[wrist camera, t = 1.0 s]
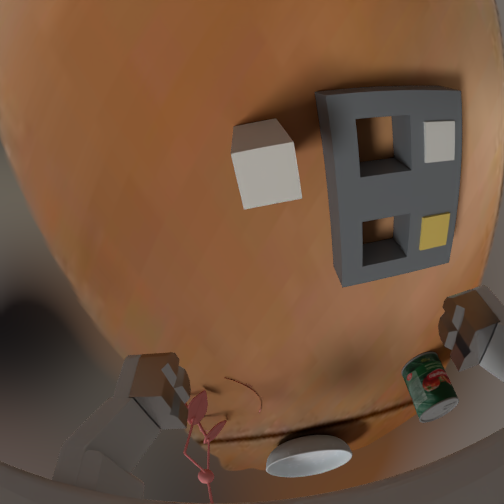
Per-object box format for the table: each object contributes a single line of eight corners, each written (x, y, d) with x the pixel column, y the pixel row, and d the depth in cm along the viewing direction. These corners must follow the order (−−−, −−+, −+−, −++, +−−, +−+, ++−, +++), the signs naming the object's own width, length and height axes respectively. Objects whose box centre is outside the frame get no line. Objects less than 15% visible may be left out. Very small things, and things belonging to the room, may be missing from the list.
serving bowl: (353, 441, 70) (358, 463, 64) (281, 460, 74) (283, 481, 68) (338, 416, 59) (344, 443, 53) (250, 438, 63) (251, 464, 57)
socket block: (314, 91, 26) (326, 95, 22) (438, 85, 25) (462, 91, 21) (333, 266, 37) (343, 289, 33) (433, 244, 35) (449, 263, 32)
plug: (233, 126, 27) (230, 153, 19) (275, 118, 27) (293, 141, 19) (242, 165, 30) (244, 209, 21) (283, 157, 29) (302, 198, 21)
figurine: (203, 433, 61) (204, 576, 31) (159, 370, 47) (140, 581, 17) (271, 427, 60) (288, 574, 31) (252, 360, 46) (273, 589, 17)
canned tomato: (400, 381, 53) (416, 427, 44) (402, 360, 49) (422, 410, 40) (434, 368, 52) (454, 411, 43) (440, 345, 48) (463, 392, 39)
